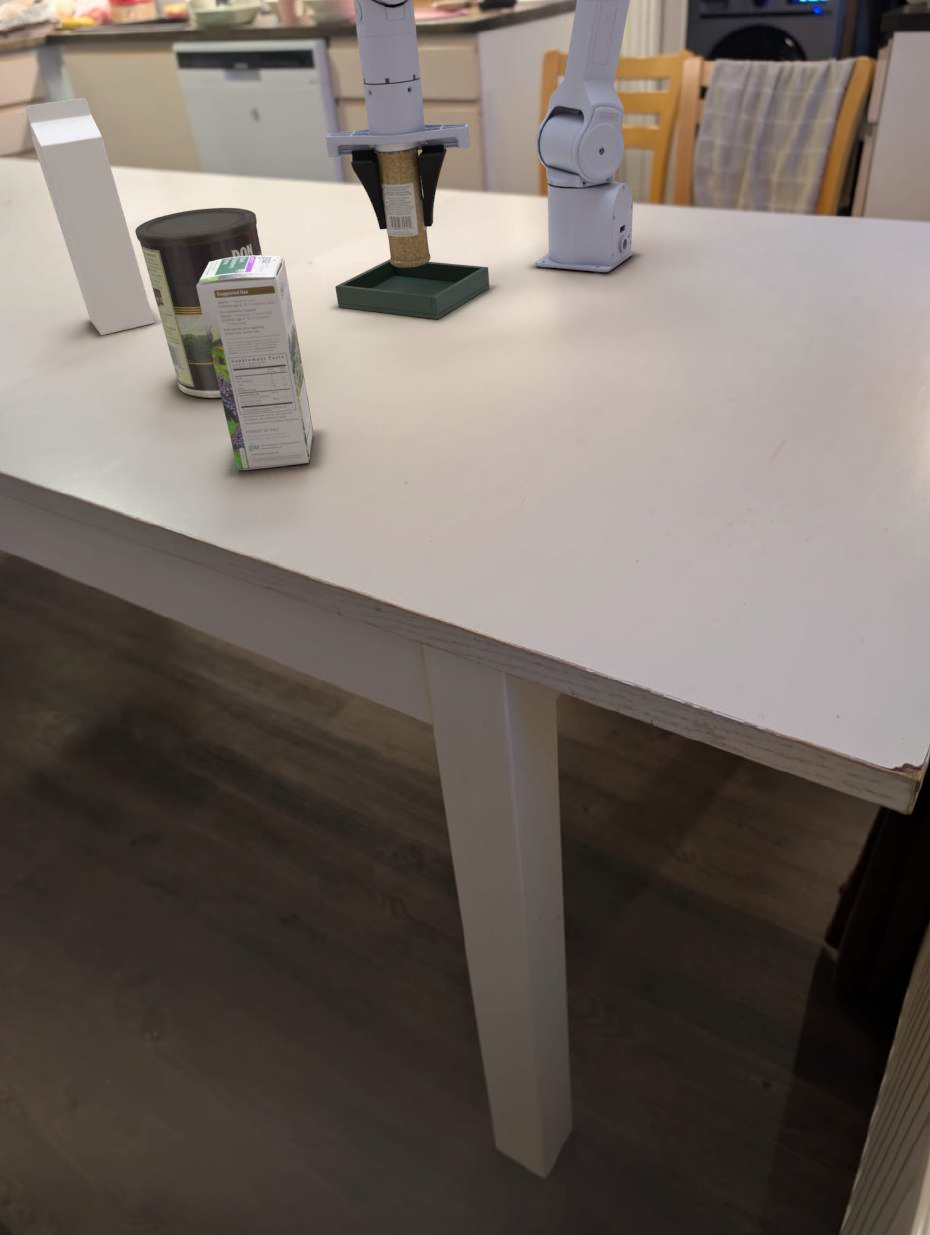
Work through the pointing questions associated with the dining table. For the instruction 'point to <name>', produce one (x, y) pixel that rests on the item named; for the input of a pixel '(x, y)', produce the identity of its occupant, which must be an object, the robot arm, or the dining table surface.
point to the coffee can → (192, 281)
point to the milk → (89, 214)
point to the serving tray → (413, 289)
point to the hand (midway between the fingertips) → (406, 225)
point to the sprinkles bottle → (403, 204)
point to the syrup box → (257, 360)
